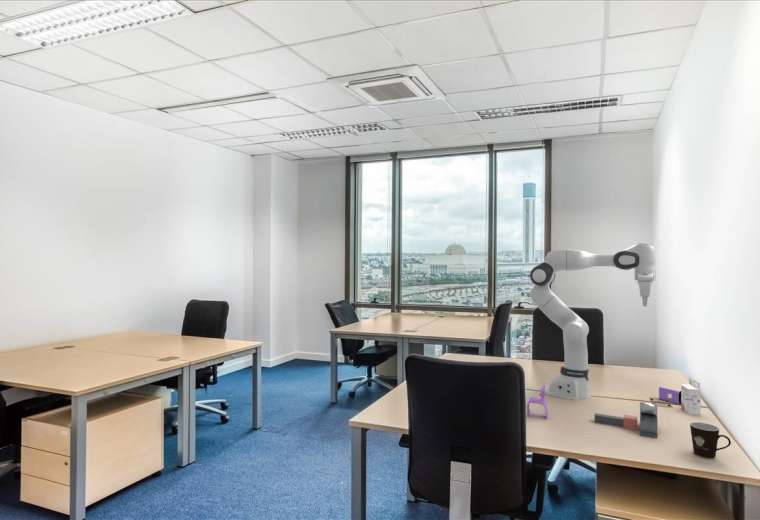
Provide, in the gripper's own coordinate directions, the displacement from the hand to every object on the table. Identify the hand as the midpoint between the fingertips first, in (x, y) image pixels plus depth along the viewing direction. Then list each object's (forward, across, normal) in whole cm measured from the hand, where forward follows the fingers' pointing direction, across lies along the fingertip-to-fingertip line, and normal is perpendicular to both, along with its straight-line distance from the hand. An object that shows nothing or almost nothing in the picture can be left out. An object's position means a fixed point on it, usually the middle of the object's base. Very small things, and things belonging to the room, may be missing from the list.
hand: (644, 305), depth 221 cm
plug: (+48, +37, -11) cm, 62 cm away
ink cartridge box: (+48, 0, +18) cm, 52 cm away
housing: (+48, +37, +1) cm, 61 cm away
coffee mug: (+48, +56, +19) cm, 76 cm away
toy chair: (+48, +43, -41) cm, 77 cm away
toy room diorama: (+49, -16, +13) cm, 53 cm away
